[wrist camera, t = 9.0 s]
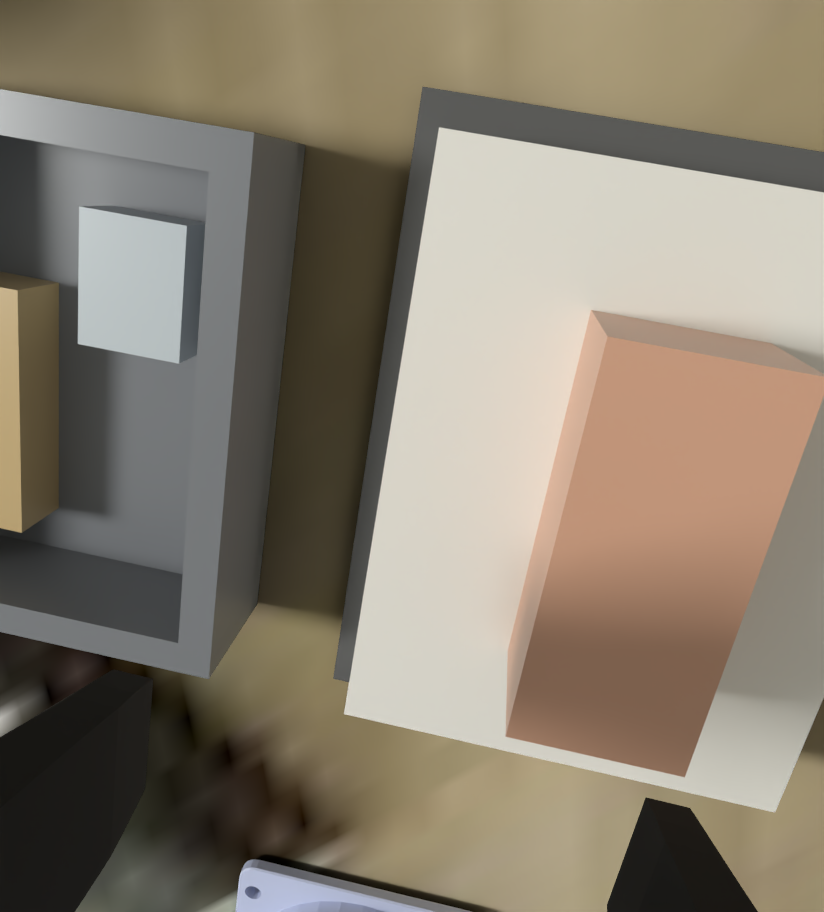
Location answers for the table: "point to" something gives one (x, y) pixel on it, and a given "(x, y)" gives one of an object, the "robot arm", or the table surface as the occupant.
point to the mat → (546, 130)
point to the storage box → (138, 375)
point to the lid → (606, 472)
